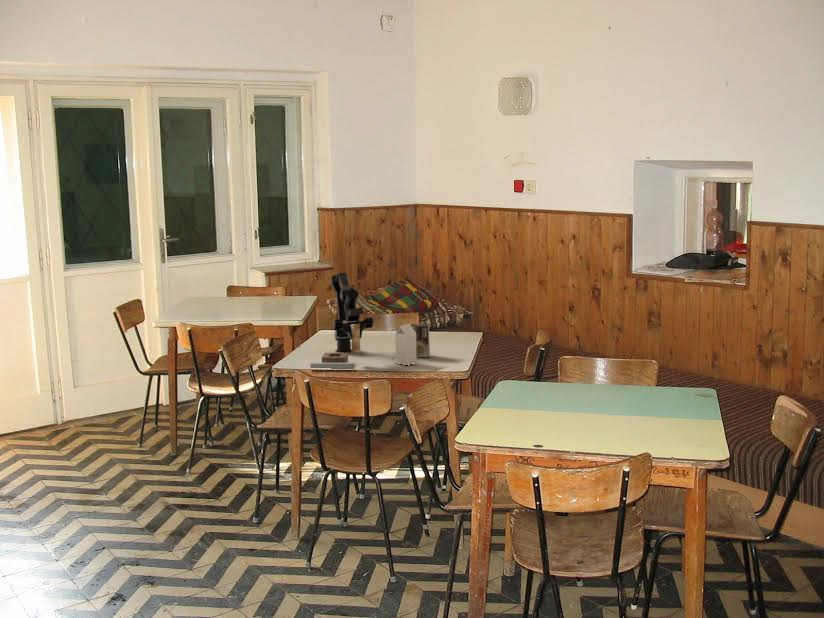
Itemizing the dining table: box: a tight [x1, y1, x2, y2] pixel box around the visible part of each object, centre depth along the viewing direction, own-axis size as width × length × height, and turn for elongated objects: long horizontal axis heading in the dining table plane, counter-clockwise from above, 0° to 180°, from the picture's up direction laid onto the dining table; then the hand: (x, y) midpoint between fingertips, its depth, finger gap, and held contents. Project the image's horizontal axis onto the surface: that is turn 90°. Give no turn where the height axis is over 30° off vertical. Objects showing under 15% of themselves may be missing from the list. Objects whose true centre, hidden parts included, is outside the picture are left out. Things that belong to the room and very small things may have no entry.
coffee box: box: [410, 323, 431, 358], centre depth 469 cm, size 9×6×16 cm
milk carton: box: [394, 323, 418, 366], centre depth 454 cm, size 7×7×19 cm
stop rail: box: [309, 362, 355, 370], centre depth 445 cm, size 2×20×4 cm, turn 87°
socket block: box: [321, 352, 349, 363], centre depth 455 cm, size 11×11×5 cm
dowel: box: [351, 324, 361, 353], centre depth 453 cm, size 4×4×13 cm
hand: (356, 338), depth 451 cm, fingers closed on dowel, 4 cm apart
